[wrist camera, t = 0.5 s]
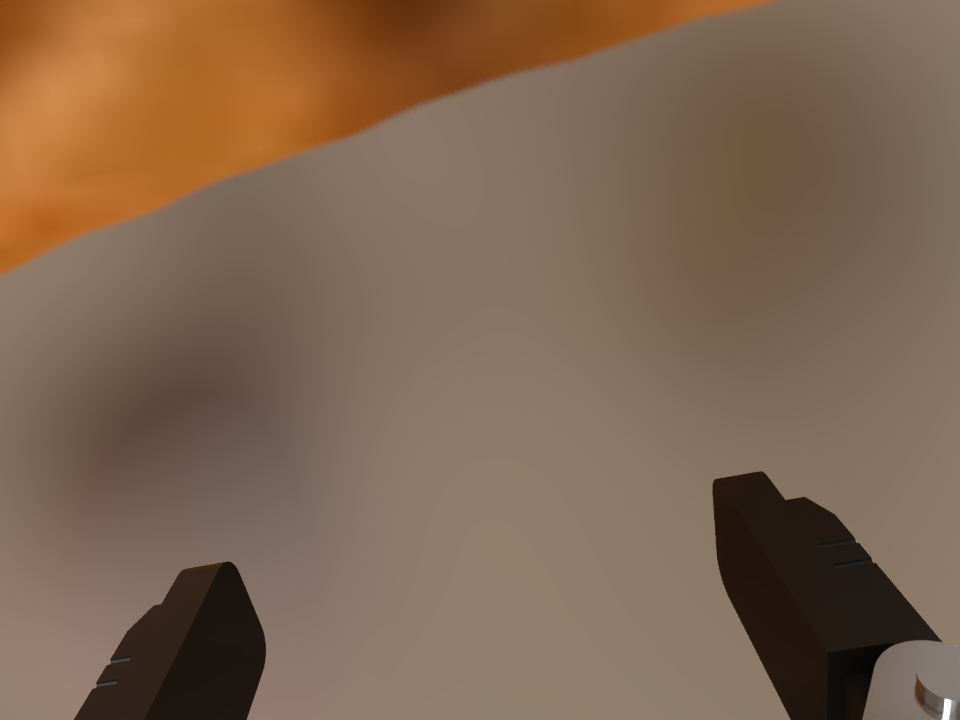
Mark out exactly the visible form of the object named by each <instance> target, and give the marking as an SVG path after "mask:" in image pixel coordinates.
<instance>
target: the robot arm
mask: <svg viewBox="0 0 960 720" xmlns="http://www.w3.org/2000/svg"><path fill="white" fill-rule="evenodd" d="M713 505H714V520H715V532H716V533H715V535H716V549H717V560H718V565H719V570H720V574H721V578H722V581H723V584H724V586H725V589H726V592H727V594H728V596H729V598H730V600H731V602H732V604H733V606H734V608H735V610H736V612H737V614H738V616H739V618H740V620H741V622H742V624H743V626H744V628H745V630H746V632H747V634H748V636H749V638H750V640H751V642H752V644H753V646H754V648H755V650H756V652H757V654H758V656H759V658H760V660H761V662H762V664H763V666H764V668H765V670H766V672H767V674H768V676H769V678H770V680H771V681H772V684H773V686H774V687H775V689H776V691H777V693H778V695H779V697H780V699H781V701H782V703H783V705H784V707H785V709H786V711H787V713H788V715H789V717H790V719H791V720H960V647H957V646H954V645H951V644H947V643H943V642H942V641H941V640H940V639H939V638H938V636H937V635H936V634H935V633H934V632H933V630H932V629H931V628H930V627H929V626H928V625H927V623H926V622H925V621H924V620H923V619H922V617H921V616H920V615H919V614H918V613H917V611H916V610H915V609H914V608H913V607H912V605H911V604H910V603H909V602H908V601H907V600H906V598H905V597H904V596H903V595H902V594H901V592H900V591H899V590H898V589H897V588H896V587H895V585H894V584H893V583H892V582H891V581H890V579H889V578H888V577H887V576H886V575H885V573H884V572H883V571H882V570H881V569H880V568H879V566H878V565H877V564H876V563H873V562H872V559H871V557H870V556H869V554H868V553H867V552H866V551H865V550H864V549H863V547H862V546H861V545H860V544H859V543H856V541H855V538H854V537H853V535H852V534H851V533H850V532H849V531H848V529H847V528H846V527H845V526H844V525H843V523H842V522H841V521H840V520H839V519H838V518H837V516H836V515H835V514H833V513H831V512H830V511H828V510H826V509H825V508H823V507H821V506H819V505H817V504H816V503H814V502H812V501H811V500H809V499H807V498H805V497H801V498H796V499H790V500H785V499H784V498H783V496H782V495H781V494H780V492H779V491H778V490H777V488H776V487H775V486H774V484H773V483H772V482H771V480H770V479H769V478H768V477H767V475H766V474H765V473H764V472H761V471H760V472H754V473H748V474H742V475H737V476H731V477H726V478H719V479H715V480H714V482H713ZM265 658H266V644H265V637H264V632H263V629H262V626H261V624H260V621H259V619H258V617H257V614H256V612H255V609H254V607H253V605H252V602H251V600H250V598H249V595H248V593H247V590H246V588H245V585H244V583H243V581H242V578H241V576H240V573H239V572H238V569H237V568H236V566H235V565H234V564H233V563H231V562H223V563H217V564H211V565H205V566H200V567H194V568H188V569H184V570H182V571H181V572H180V573H179V575H178V576H177V578H176V580H175V582H174V583H173V585H172V587H171V588H170V590H169V592H168V594H167V595H166V597H165V599H164V601H163V603H162V604H160V605H155V606H153V607H152V608H151V609H150V610H149V611H148V612H147V613H146V614H145V615H144V616H143V617H142V618H141V619H140V620H139V621H138V622H137V623H135V624H134V625H133V626H132V627H131V628H130V629H129V630H128V631H127V633H126V634H125V636H124V638H123V640H122V641H121V643H120V644H119V646H118V648H117V649H116V651H115V653H114V654H113V656H112V658H111V659H110V660H111V664H110V665H107V666H106V667H105V669H104V671H103V673H102V674H101V676H100V677H99V679H98V681H97V682H96V683H97V687H96V688H94V689H92V691H91V692H90V694H89V696H88V697H87V699H86V700H85V702H84V704H83V706H82V707H81V709H80V710H79V712H78V714H77V715H76V717H75V719H74V720H247V717H248V714H249V711H250V708H251V705H252V702H253V699H254V696H255V693H256V690H257V687H258V684H259V681H260V678H261V675H262V672H263V669H264V664H265Z"/></svg>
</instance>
